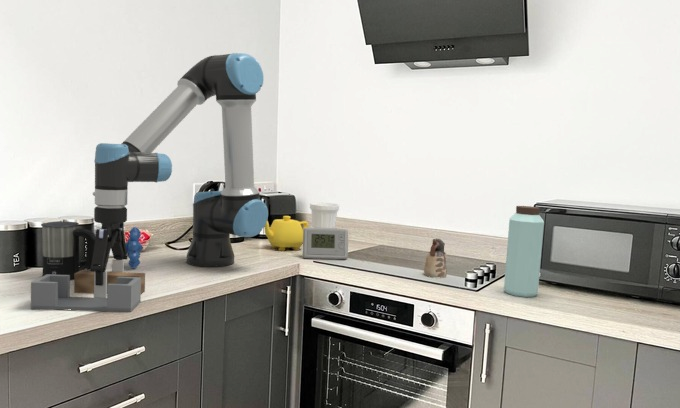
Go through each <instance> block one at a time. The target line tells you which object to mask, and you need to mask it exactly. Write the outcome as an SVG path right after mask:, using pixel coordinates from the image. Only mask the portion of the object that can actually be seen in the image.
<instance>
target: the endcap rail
mask: <svg viewBox="0 0 680 408" xmlns="http://www.w3.org/2000/svg"><path fill="white" fill-rule="evenodd" d="M70 285H71V279H70V275H52V274H46V275H44V276H43V277H42V276H41V277H39V278H37V279H35V280H33V281H31V282H30V310H40V309H71V310H70V311H76V310H97V311H96V312H112V313H113V312H114V313H115V312H116V313H117V312H119V313H120V312H121V313H122V312H123V313H131V312H132V311H134V309H136V308H137V307H138V305H139V304H140V303H141V300H142V299H141V295H142V294H141V277H117V284H108V285H107V298H94V297H84V296H81V297H80V296H71V295H70V294H71V289H70V288H71V286H70Z"/></svg>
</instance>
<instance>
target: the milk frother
mask: <svg viewBox="0 0 680 408" xmlns="http://www.w3.org/2000/svg"><path fill="white" fill-rule="evenodd" d="M79 225H80V223H79V222H75V221H50V222H43V223H40V226H41V229H42V232H41V233H42V234H41V235H42V239H41V240H42V273H41V274H42V275H41V277H43V276H44V275H46V274H52V275H70V280H74V274H75V273H77V272H79V271H81V270H86V269H87V270H88V271H90V268H91V263H92V258H93V252H94V246H95V240H96V234H95V233H94V232H93V231H91V229H90V230H89V229H87V228H79V227H78V226H79ZM80 237H82V238H84V239H85V241H86V254H85V255H86V256H85V259H84V260H80Z"/></svg>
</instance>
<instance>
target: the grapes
mask: <svg viewBox="0 0 680 408" xmlns="http://www.w3.org/2000/svg"><path fill="white" fill-rule="evenodd" d="M128 233H129V234H128V239H127V242H126V241H125V244H126V251H127V256H128V258H127V259H128V262H127V263H128V265H129V266H130V267H131V268H132V269H137V267H138V266H140V264H141V261H140V258H141V251H142V250H143V248H144V246H143V245H142V244H141V242H140V238H141V236H142V235H141V233H142V232H141V230H140V229H139V228H138V227H137V226H133V227H132V228H131V229H130V230H129V232H128Z"/></svg>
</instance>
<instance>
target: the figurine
mask: <svg viewBox="0 0 680 408" xmlns="http://www.w3.org/2000/svg"><path fill="white" fill-rule="evenodd" d="M446 254H447V253H446V251H445V242H444V241H443V240H442V238H433V239H432V245H431V246H430V251H429V252H428V254H427V256H426V259H425V263H424V268H423V272H424V273H423V274H424V276H426V277H428V276H430V277H429V278H433V277H444V278H446V277H447V271H448V269H447V260H446V259H447V258H446Z"/></svg>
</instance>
